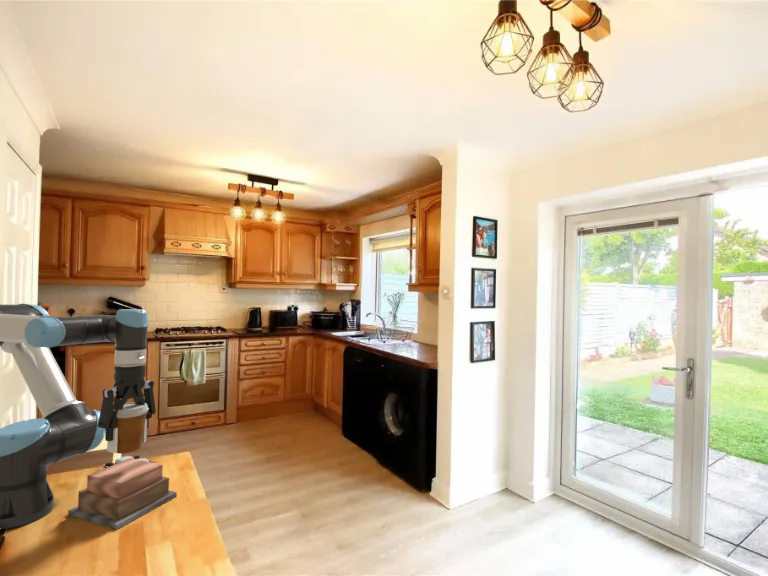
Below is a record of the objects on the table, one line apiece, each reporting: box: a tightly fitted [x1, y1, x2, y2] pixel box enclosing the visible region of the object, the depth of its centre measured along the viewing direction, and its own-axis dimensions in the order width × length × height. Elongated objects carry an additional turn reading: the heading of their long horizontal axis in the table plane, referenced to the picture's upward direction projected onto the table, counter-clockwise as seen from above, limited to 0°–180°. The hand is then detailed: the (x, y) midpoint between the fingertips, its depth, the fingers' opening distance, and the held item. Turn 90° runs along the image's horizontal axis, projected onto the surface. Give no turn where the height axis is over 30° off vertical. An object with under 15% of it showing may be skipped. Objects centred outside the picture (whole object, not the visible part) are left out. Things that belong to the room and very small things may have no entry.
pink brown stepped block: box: [67, 457, 178, 530], centre depth 111 cm, size 18×18×10 cm
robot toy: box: [101, 455, 157, 469], centre depth 131 cm, size 12×4×15 cm
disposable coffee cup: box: [114, 401, 149, 454], centre depth 112 cm, size 10×10×12 cm
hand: (127, 446), depth 111 cm, fingers closed on disposable coffee cup, 8 cm apart
